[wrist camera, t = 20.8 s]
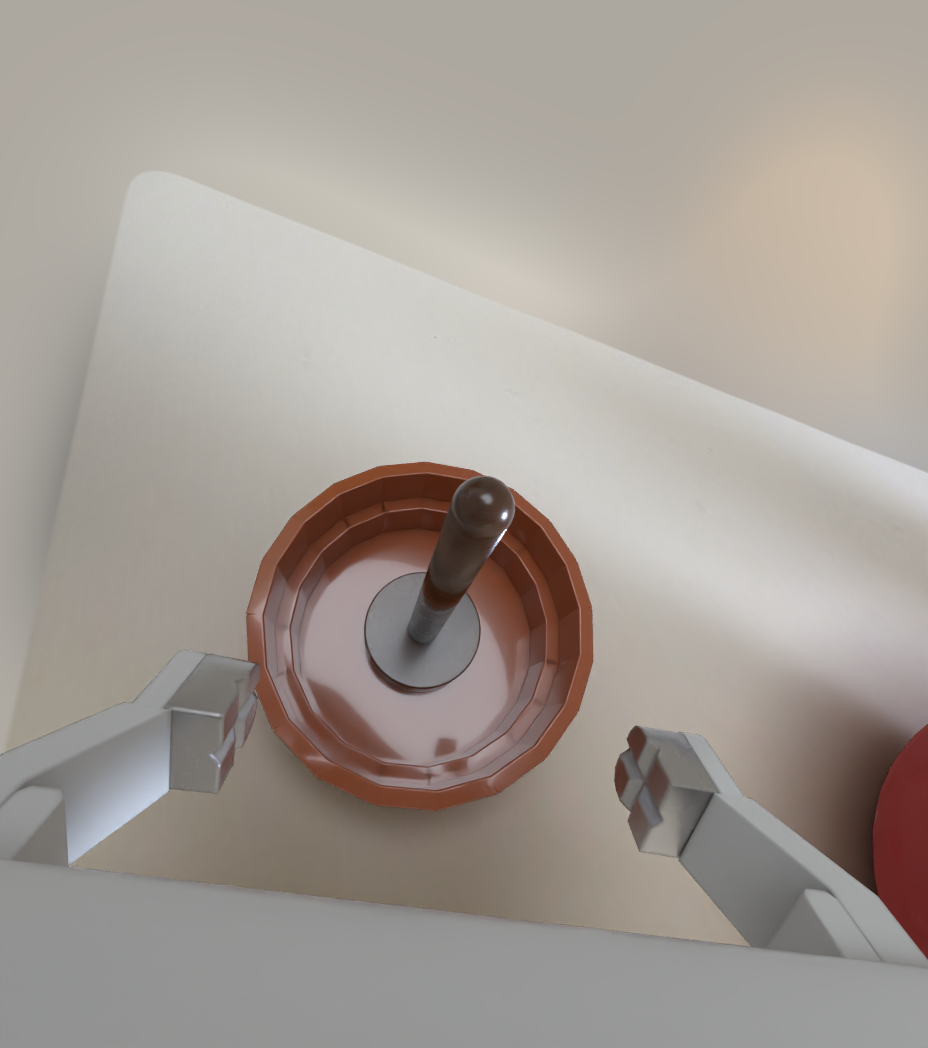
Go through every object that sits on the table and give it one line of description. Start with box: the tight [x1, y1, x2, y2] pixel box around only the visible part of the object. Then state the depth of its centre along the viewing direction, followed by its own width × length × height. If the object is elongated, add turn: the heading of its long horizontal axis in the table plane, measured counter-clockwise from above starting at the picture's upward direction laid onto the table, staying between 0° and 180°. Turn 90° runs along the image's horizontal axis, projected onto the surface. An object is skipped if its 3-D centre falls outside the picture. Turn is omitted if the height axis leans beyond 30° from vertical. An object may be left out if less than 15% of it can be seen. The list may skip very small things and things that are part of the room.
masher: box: [364, 476, 515, 692], centre depth 19 cm, size 6×6×17 cm
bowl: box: [246, 462, 593, 811], centre depth 24 cm, size 15×15×6 cm
